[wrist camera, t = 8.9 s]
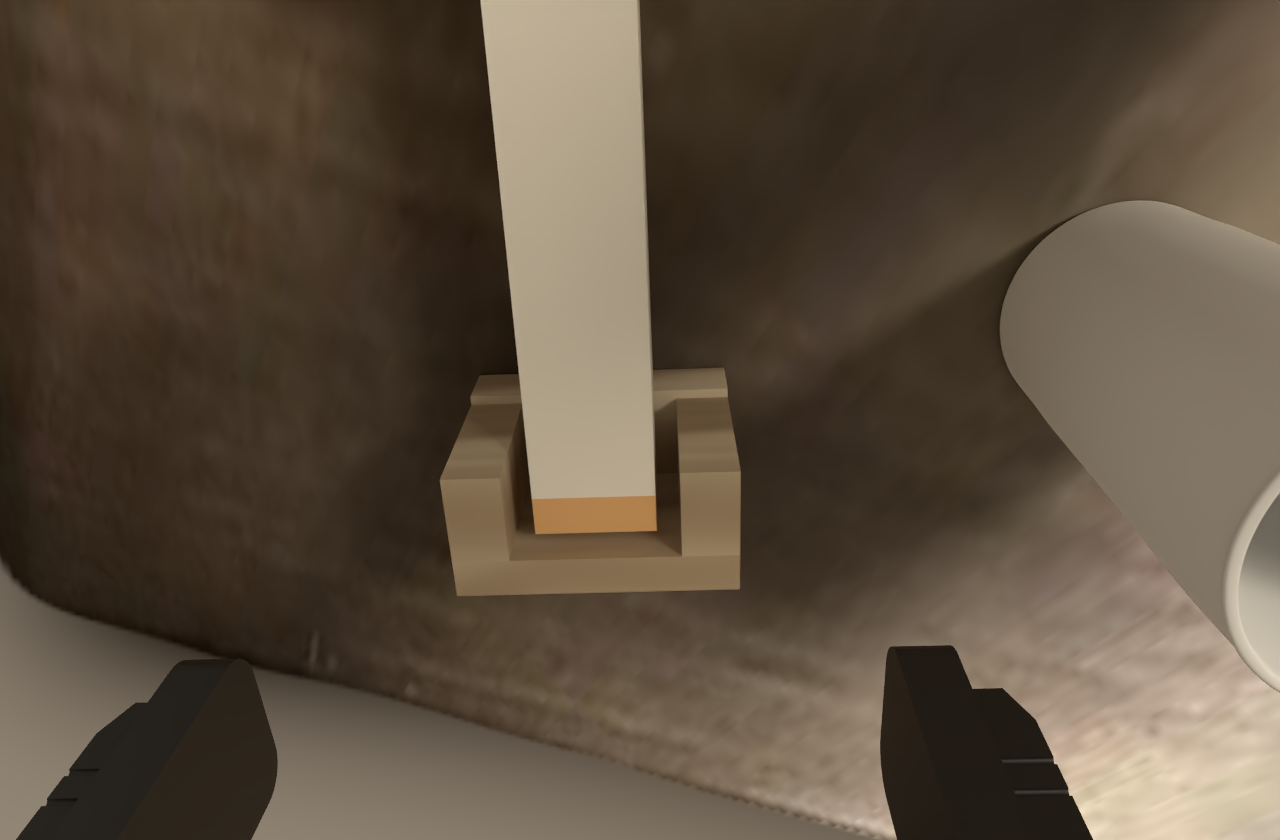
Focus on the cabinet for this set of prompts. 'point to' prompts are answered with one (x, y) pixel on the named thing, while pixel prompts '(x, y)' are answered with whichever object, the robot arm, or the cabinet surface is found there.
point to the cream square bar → (577, 254)
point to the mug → (1167, 394)
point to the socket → (605, 561)
